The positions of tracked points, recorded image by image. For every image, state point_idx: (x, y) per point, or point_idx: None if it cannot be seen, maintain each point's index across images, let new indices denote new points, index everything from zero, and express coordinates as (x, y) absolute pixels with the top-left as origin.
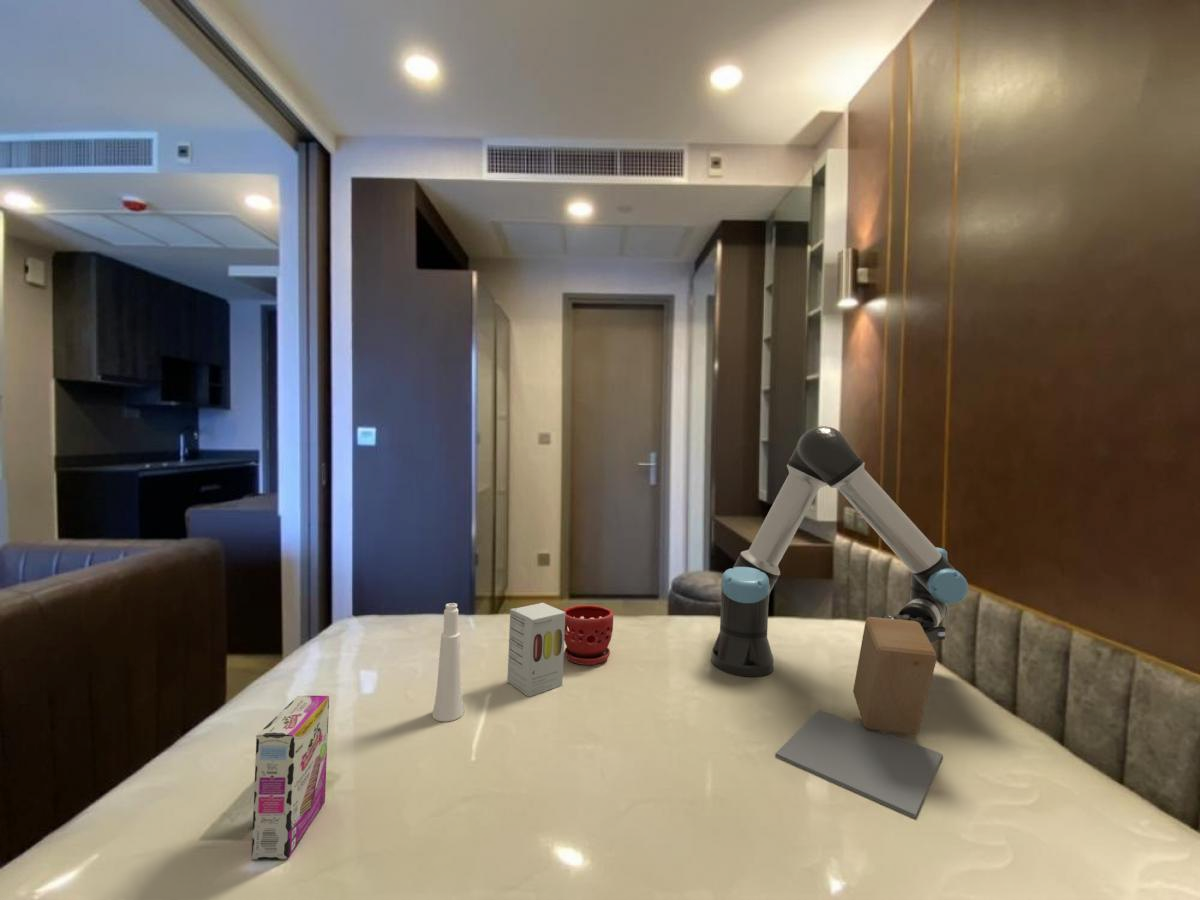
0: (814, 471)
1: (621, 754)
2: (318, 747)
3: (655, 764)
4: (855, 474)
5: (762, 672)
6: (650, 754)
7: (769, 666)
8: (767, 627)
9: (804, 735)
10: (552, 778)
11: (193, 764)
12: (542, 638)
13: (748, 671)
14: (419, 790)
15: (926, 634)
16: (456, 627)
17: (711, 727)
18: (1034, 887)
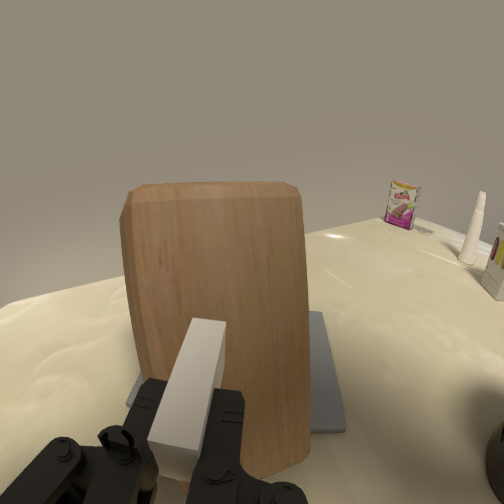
0: None
1: (393, 273)
2: (406, 200)
3: (371, 274)
4: None
5: (490, 456)
6: (384, 279)
7: (498, 470)
8: None
9: (319, 351)
10: (388, 253)
11: (444, 229)
12: (499, 243)
13: (496, 432)
14: (404, 238)
15: (29, 470)
16: (478, 205)
17: (396, 320)
18: (111, 279)
